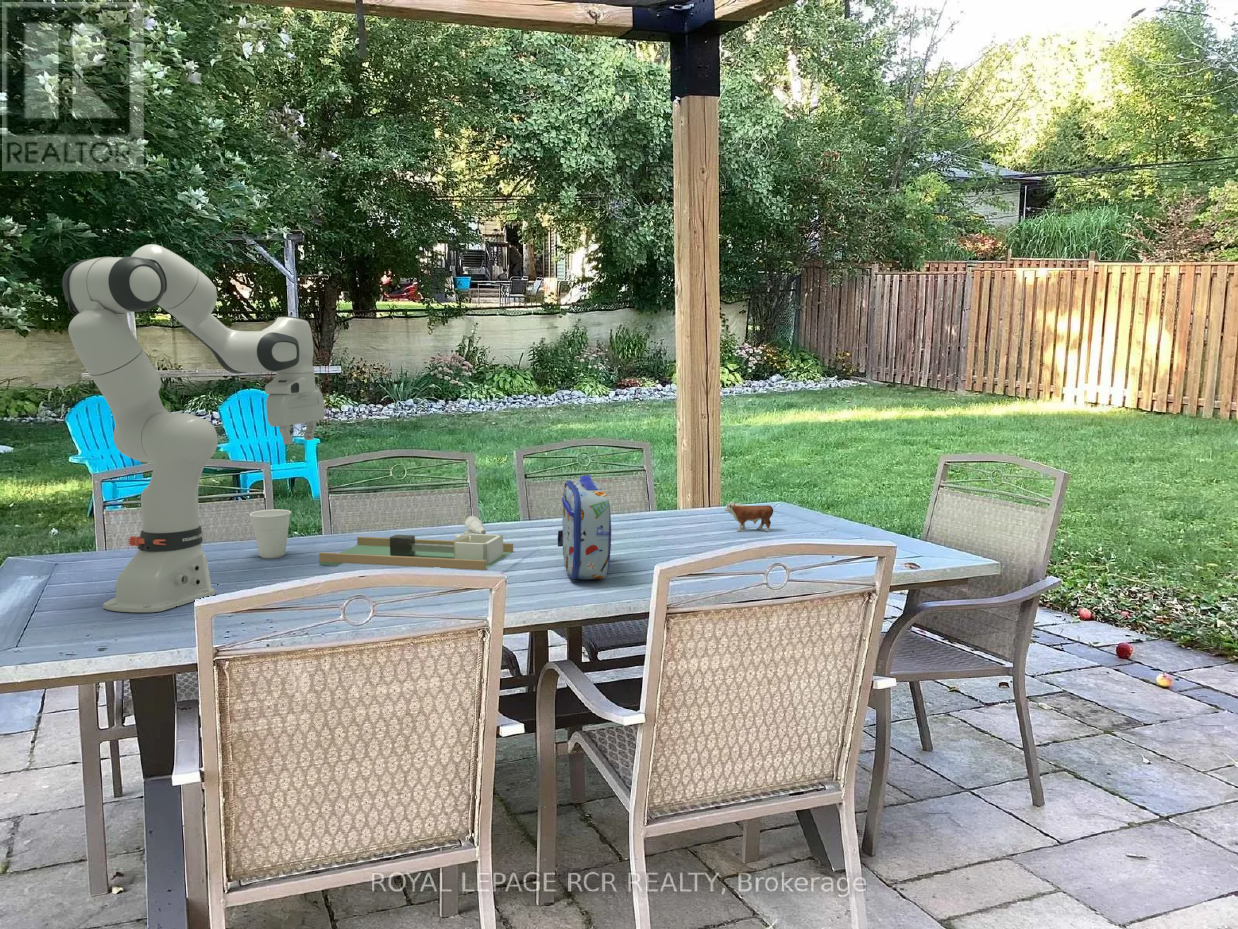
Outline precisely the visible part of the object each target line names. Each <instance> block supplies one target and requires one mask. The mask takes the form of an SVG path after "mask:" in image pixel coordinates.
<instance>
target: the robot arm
mask: <svg viewBox="0 0 1238 929" xmlns="http://www.w3.org/2000/svg"><path fill="white" fill-rule="evenodd" d="M61 286H62V291H63V294H64V297H65V300H66V301H67V306H68V309H69V311H70V313H71V314H73V315H74V317H73V318H72V320H70V322H69V325H68V336H69V338H70V341H71V343H72V346H73V348H74V350H75V353H76V354H77V356H78V358H79V359H80V361H81V364H82V365H83V367H84V368H85V370H86V371H87V373H88V375H89V376H90V378H91V379H92V380H93V381H92V382H94V384H95V385H96V387H97V388H98V390H99V392H100V394H102V396H103V398H104V399H105V401H106V403H107V405H108V406H109V409H110V411H111V413H112V416H113V420H114V424H115V426H114V431H113V441H114V442H113V443H114V445H115V447H116V449H117V450H118V451H119V452H120V453H121V454H122V455H124V456H126V457H128V458H130V459H132V460H135V461H138V462H141V463H150V464H153V465H152V472H151V474H152V475H151V477H150V480H149V482H148V483H149V484H148V485H147V486H146V487H145V488H144V489H143V490H142V492H141V494H140V508H141V523H142V530H141V531H140V535H139V536H133V535H131V536H130V537H129V538H128V540H127V542H128V545H129V546H130V547H134V546H137V549H138V550H137V551H136V553H135V554H134V556H133V557H132V558H131V559H130V561H129V562H128V563H127V565H126V566H125V567H124V568H123V569H122V571H121V572H120V573H119V574H118V576H117V577H116V580H115V581H116V583H115V597H113V598H111V599H109V600H107V601H105V602H103V606H102V608H103V609H105V610H108V611H113V612H123V613H155V612H156V613H157V612H163V611H166V610H169V609H173V608H175V607H176V606H177V607H180V606H183V605H186V604H189V603H192V602H195V601H194V600H195V599H198V598H200V597H205V596H209V597H212V596H214V595H216V589H215V588H213V587H212V583H211V575H210V572H209V564H208V559H207V556H206V554H205V552H204V551H203V548H202V543H203V530H202V526H201V525H200V517H199V516H200V513H199V511H200V510H199V487H200V483H201V478H202V474H203V471H204V468H205V466H206V464H207V462H208V461H209V460H211V458H212V457H213V456H214V455H215V452H216V450H217V447H218V443H219V442H218V441H219V439H218V433H217V431H216V428H215V426H214V425H213V424H212V423H211V422H210V421H208V420H207V419H204V418H202V417H200V416H197V415H195V414H192V413H187V412H185V413H183V412H170V411H169V410H168V409H166V408H165V407H164V405H163V403H162V401H161V397H160V394H159V391H160V389H161V386H162V378H161V376H160V375H159V373H158V371H157V369H156V368H155V367H154V365H153V364H152V362H151V361H150V358H149V357H148V355H147V354H146V352H145V351H144V349H143V348H142V346H141V344H140V343H139V341H138V339H137V338H136V337H135V335H134V334H133V333H132V331H131V328H130V325H129V320H128V313H139V312H143V311H146V310H147V311H148V310H149V309H151V308H153V307H154V306H156V305H158V306H159V307H160V308H162V309H163V310H165V312H167V313H169V314H170V315H171V316H173V317H174V319H175V320H176V321H177V322H178V323H179V324H180V325H181V327H183V328H184V329H185V330H186V331H187V332H189V333H190V334H191V335H192V336H194V337H195V338H196V339H197V340H198V341H200V343H201V344H203V345H204V346H205V347H207V348H208V349H209V350H210V352H211V353H212V354H213V355H214V357H215V358H216V360H217V361H218V363H219V364H220V366H221V367H222V368H223V369H224V370H225V371H227V372H229V373H231V374H239V375H240V374H247V373H258V374H259V373H261V374H262V373H275V377H274V378H273V379H272V380H271V381H269V382H268V383H267V384H265V386H264V392H265V395H267V397H266V400H265V401H266V402H265V403H266V408H265V409H266V417H267V418H266V419H267V422H268V424H269V425H270V427H278V430H279V432H280V435H281V437H282V443H283V445H292V444H293V443H294V437H293V436H292V434H291V432H290V430H291V426H292V425H298V424H305V426H306V429H305V432H304V433H303V436H304V437H303V438H304V440H305V441H312V440H314V439H315V434H314V433H315V429H316V428H317V421H322V420H324V418H325V414H326V412H325V404H324V402H325V401H324V397H323V393H322V391H321V389H320V387H319V386H318V384H317V383H316V380H315V378H316V375H315V373H316V372H315V368H314V366H313V365H314V364H313V357H314V341H313V340H314V339H313V334H312V328H311V325H310V323H309V322H308V321H307V320H306V319H304V318H301V317H297V316H288V315H285V316H279V317H277V318H276V319H275V321H274V322H273V323H272V324H270V325H269V326H267V327H266V328H263V329H261V330H258V331H257V330H255V331H249V330H248V331H246V330H245V331H242V330H235V329H232V328H228V327H227V326H226V325H224V324H223V322H221V321H220V320H219V319H218V318H217V317H215V316H214V315H213V314H212V313H213V311H214V309H215V308H216V306H217V305H216V304H217V300H218V292H217V287H216V285H215V284H214V283H213V282H212V280H211V279H210V278H209V277H208V276H207V275H205V273H203V272H202V271H201V270H199V269H198V268H197V267H195V265H193V264H192V263H191V262H189V261H187V260H186V259H185V258H183V257H181V256H180V255H178V254H177V253H175V252H173V251H172V250H170V249H168V248H165V247H164V246H161V245H159V244H154V243H153V244H152V243H151V244H145V245H143V246H142V245H141V247H138V248H137V249H135V251H134V252H133V253H132V254H131V255H130V256H125V257H120V256H119V257H118V256H117V257H116V256H115V257H113V256H102V257H96V258H92V259H90V258H89V259H82V260H80V261H78V262H75V263H74V264H71V266H69V267H68V268H67V269H66V270H65V272H64V274H63V277H62V285H61Z"/></svg>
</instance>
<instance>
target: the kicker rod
mask: <svg viewBox="0 0 1238 929" xmlns="http://www.w3.org/2000/svg"><path fill="white" fill-rule="evenodd" d="M389 538H390V556H408V557H409V556H411V555H413V554H415V551H419V552H440V553H454V559H455V543H456V542H467V543H469V536H463V535H462V536H460V537H458V538H454V539H453V541H454V545H439V544H417V543H415V539H416V536H415V535H411V534H410V535H408V534H394V535H393V536H390V537H389Z"/></svg>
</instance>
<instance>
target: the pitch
mask: <svg viewBox="0 0 1238 929" xmlns="http://www.w3.org/2000/svg"><path fill="white" fill-rule="evenodd" d="M356 539H357V540H356V541H357V544H356V545H355V546H352V547H350V548H347V549H345V550H343V551H340V552H324V551H323V552H319V553H318V558H319V561H318V562H319V563H318V564H319V566H320V565H336V566H335V567H338V566H340V565H343V564H357V565H358V564H361V565H374V566H376V565H377V566H378V565H379V566H380V565H381V566H395V567H396V566H397V567H398V566H399V567H415V568H417V567H418V568H434V567H440V568H439V569H457V570H458V569H459V570H477V571H486V570H487V569H489V568H490V567H492V566H493V565H494V564H496V563H498V562H500V561H501V560H502V559H504V558H505V557H507V556H509V555H510V554H512V553H513V552H514V543H510V542H509V543H508V542H503V556H501V557H500V558H498V559H496V560H495V561H493V562H492V563H490V564H489V565H486V560H467V559H454V553H440V552H419V551H415V554H413V555H411V556H409V557H408V556H390V537H377V536H373V537H372V536H357V537H356ZM415 543H417V544H439V545H454V540H446V539H445V540H442V539H423V538H422V539H421V538H420V539H419V538H417V539H416V538H415ZM469 543H471V542H469Z"/></svg>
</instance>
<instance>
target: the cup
mask: <svg viewBox="0 0 1238 929" xmlns="http://www.w3.org/2000/svg"><path fill="white" fill-rule="evenodd" d="M291 514H292V511H291V510H289V509H279V508H278V509H263V510H261V509H260V510H256V511H252V512H250V513H249V514H248V515H249V517H250V521H251V525H252V528H253V529H252V530H253V531H254V532H253V533H254V537H255V541H256V545H257V546H256V547H257V551H258V554H259V557H260V558H262V559H277V558H278V559H279V558H282V557H284V556H285V555H286V553H287V552H286V550H287V543H288V535H289V534H288V533H289V527H290V526H289V525H290V518H291ZM283 555H284V556H283ZM281 556H282V557H281Z"/></svg>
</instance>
